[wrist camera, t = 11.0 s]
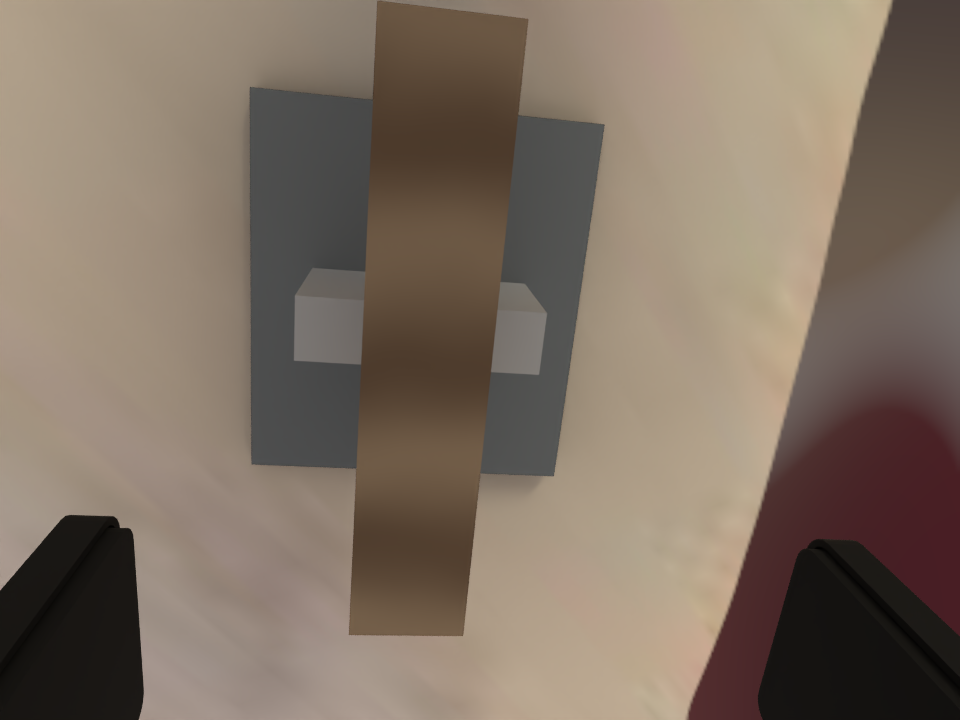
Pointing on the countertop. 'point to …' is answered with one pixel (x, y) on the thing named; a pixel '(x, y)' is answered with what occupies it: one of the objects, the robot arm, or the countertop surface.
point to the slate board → (336, 234)
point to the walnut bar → (430, 307)
